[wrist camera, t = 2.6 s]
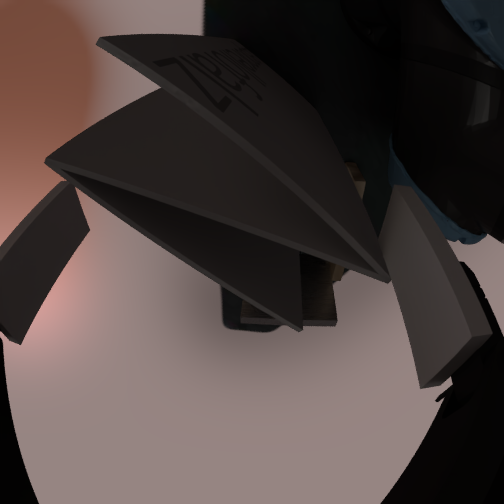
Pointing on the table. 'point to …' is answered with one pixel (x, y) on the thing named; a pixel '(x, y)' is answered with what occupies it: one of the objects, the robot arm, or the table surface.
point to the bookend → (304, 297)
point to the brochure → (224, 171)
